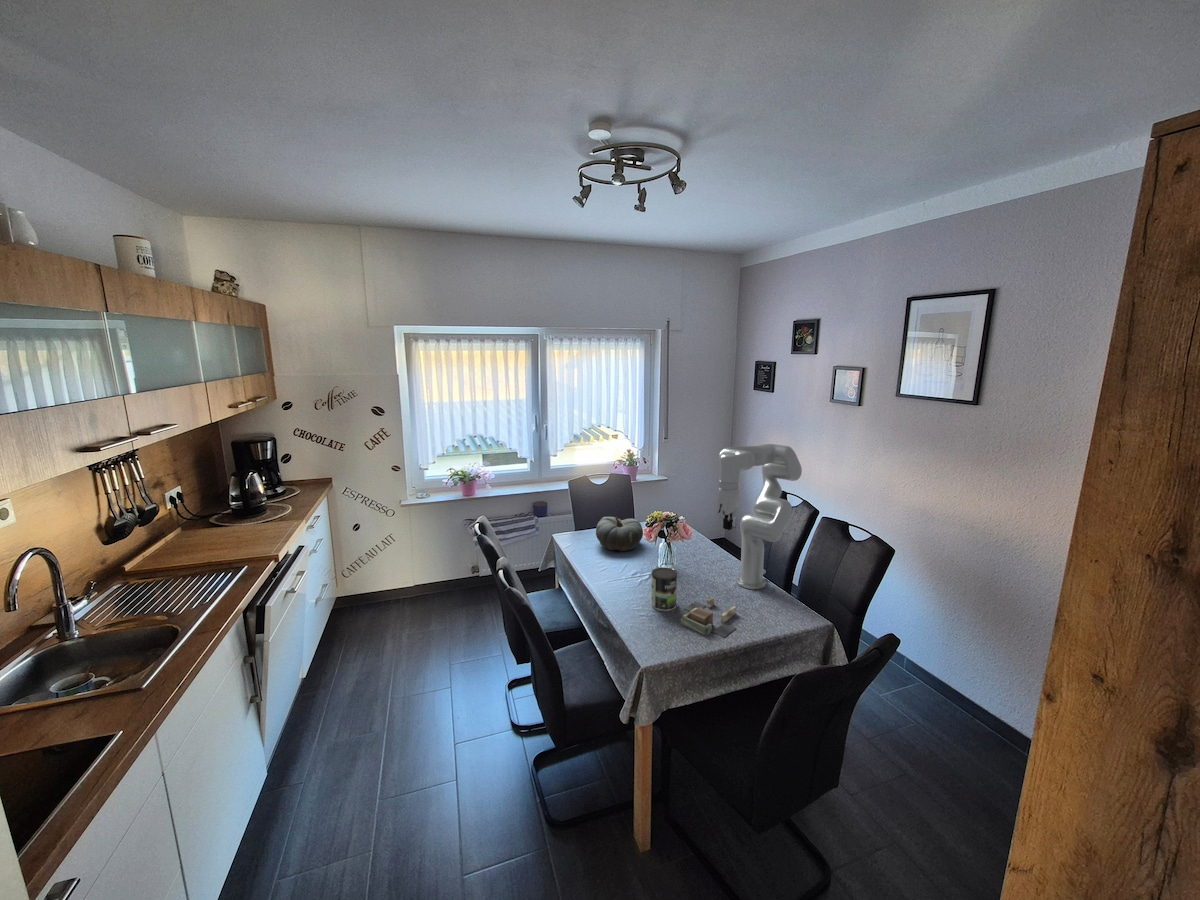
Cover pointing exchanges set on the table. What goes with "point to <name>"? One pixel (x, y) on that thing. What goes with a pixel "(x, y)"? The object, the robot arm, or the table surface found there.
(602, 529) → the gourd
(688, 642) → the table surface
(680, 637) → the table surface
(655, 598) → the coffee can
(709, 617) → the block
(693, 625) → the trap lane
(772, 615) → the table surface
